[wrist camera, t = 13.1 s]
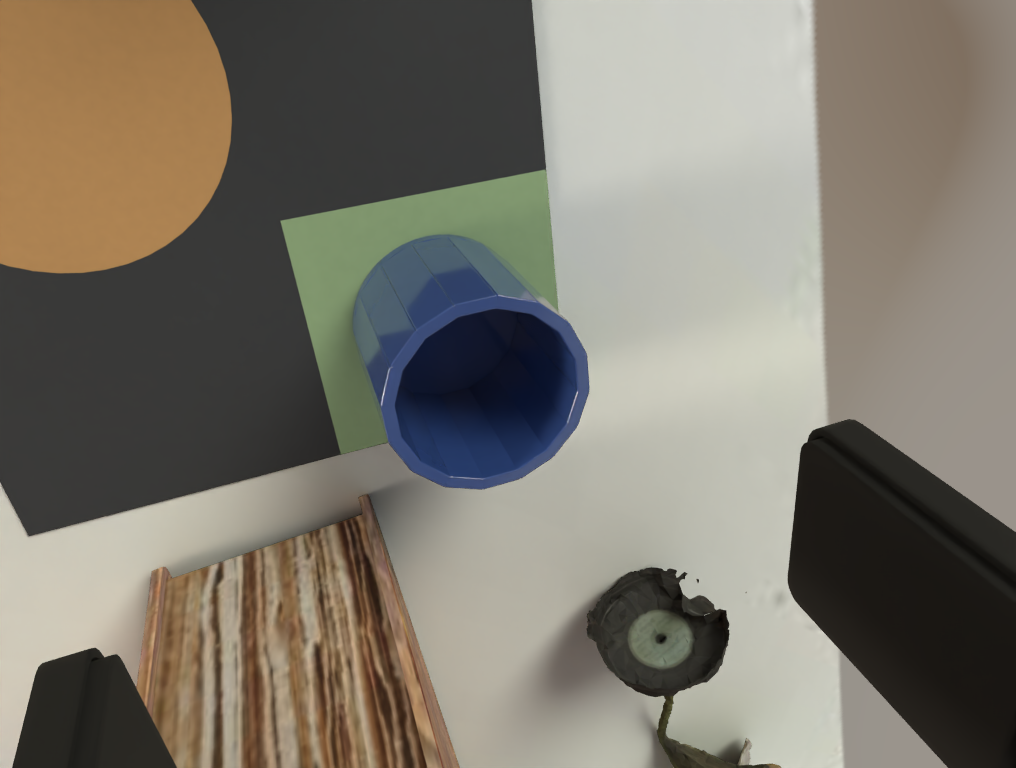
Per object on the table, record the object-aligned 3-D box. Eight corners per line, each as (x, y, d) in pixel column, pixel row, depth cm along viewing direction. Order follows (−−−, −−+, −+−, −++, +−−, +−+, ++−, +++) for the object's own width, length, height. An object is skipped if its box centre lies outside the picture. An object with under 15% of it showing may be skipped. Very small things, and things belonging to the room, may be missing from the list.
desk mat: (29, 535, 30) (28, 536, 30) (-337, -159, 19) (-339, -159, 19) (565, 395, 35) (565, 395, 35) (511, -224, 24) (512, -224, 24)
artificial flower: (690, 519, 42) (853, 638, 35) (709, 728, 56) (829, 844, 49) (562, 617, 39) (714, 770, 32) (616, 813, 53) (730, 951, 46)
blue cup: (371, 414, 32) (403, 512, 26) (334, 254, 29) (362, 325, 23) (529, 373, 33) (594, 458, 28) (512, 217, 30) (582, 275, 24)
